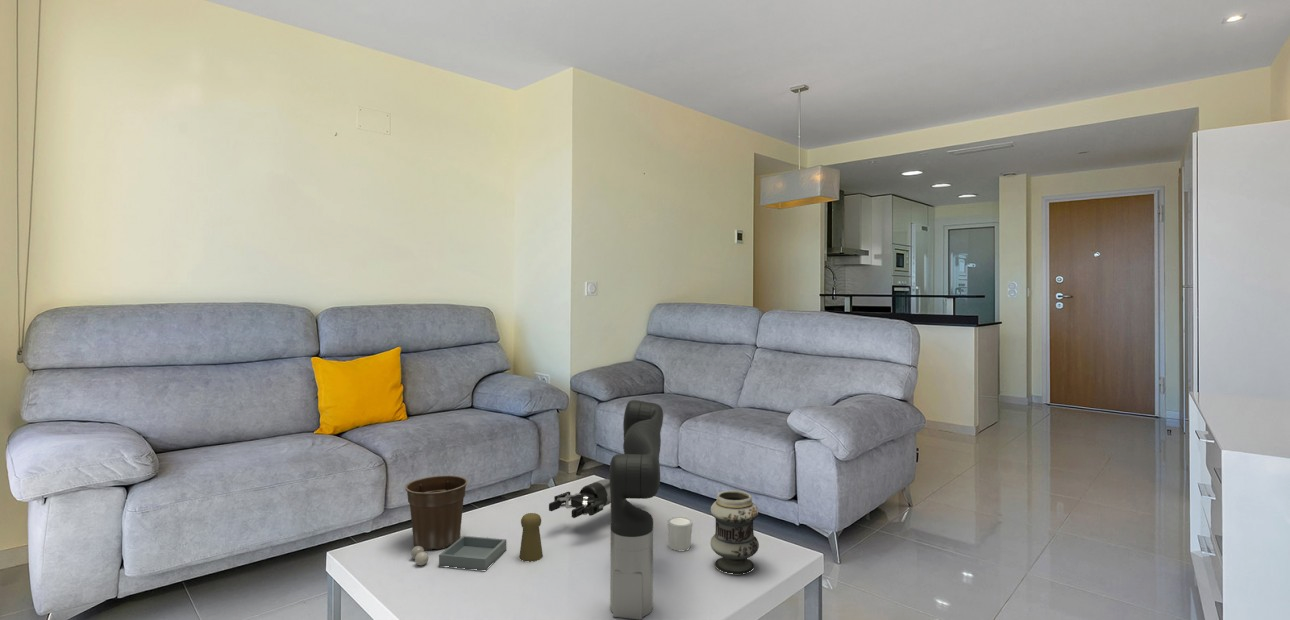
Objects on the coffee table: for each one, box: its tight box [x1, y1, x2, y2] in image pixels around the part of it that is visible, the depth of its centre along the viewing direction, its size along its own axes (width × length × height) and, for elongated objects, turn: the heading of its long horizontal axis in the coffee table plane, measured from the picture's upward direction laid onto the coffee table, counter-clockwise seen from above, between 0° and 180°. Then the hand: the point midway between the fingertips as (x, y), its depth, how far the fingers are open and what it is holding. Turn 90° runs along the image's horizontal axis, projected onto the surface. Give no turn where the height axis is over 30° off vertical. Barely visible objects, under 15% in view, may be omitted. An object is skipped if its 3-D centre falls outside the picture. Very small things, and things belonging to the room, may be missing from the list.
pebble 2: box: [414, 551, 430, 566], centre depth 150 cm, size 3×3×3 cm
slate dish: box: [438, 535, 507, 571], centre depth 153 cm, size 12×12×3 cm
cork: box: [519, 512, 544, 563], centre depth 155 cm, size 6×6×11 cm
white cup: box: [667, 516, 693, 552], centre depth 161 cm, size 7×7×7 cm
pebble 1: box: [410, 546, 425, 560], centre depth 153 cm, size 3×3×3 cm
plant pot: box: [404, 475, 468, 551], centre depth 164 cm, size 16×16×16 cm
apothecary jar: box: [709, 490, 760, 575], centre depth 150 cm, size 12×12×18 cm
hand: (561, 510), depth 164 cm, fingers open, 8 cm apart
